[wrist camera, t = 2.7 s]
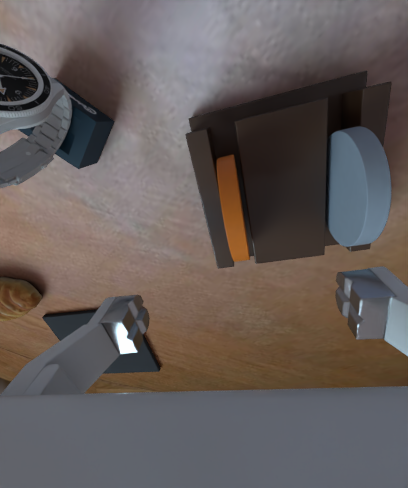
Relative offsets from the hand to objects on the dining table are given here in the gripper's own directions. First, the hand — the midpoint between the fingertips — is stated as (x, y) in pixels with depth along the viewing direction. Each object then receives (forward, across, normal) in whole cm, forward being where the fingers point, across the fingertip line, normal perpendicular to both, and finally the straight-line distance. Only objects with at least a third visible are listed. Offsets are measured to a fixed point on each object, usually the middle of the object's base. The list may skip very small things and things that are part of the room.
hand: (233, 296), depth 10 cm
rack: (+14, -4, 0) cm, 15 cm away
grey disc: (+10, -8, 0) cm, 13 cm away
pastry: (+15, +33, +8) cm, 37 cm away
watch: (+15, +12, -9) cm, 21 cm away
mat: (+15, +23, +20) cm, 34 cm away
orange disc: (+10, 0, 0) cm, 10 cm away
